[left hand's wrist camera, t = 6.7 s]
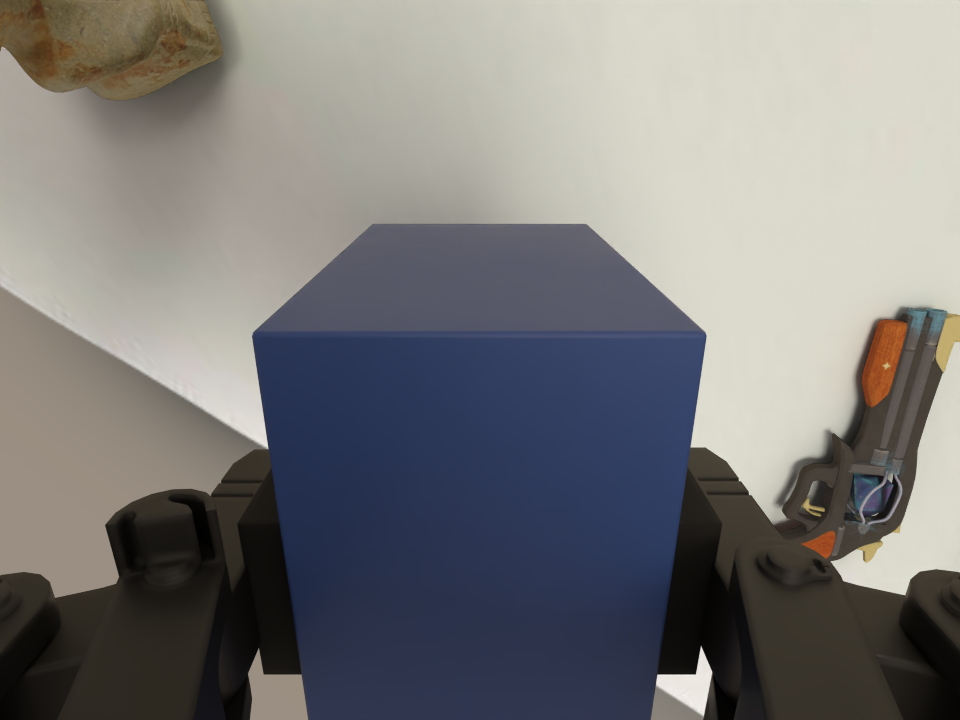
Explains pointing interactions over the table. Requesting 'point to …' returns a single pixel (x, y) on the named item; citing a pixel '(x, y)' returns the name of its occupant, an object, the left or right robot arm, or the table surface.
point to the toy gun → (877, 440)
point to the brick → (479, 473)
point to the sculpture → (108, 43)
